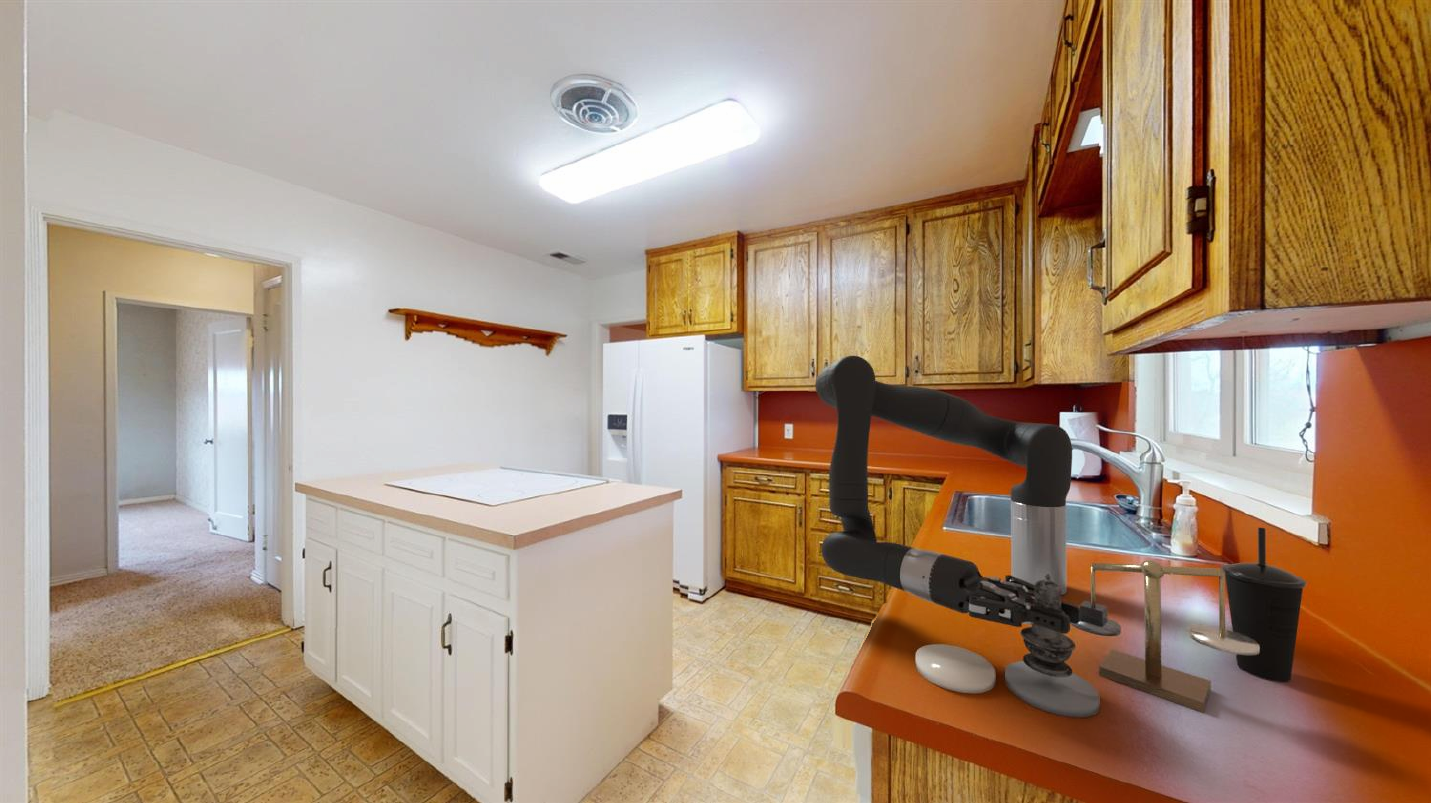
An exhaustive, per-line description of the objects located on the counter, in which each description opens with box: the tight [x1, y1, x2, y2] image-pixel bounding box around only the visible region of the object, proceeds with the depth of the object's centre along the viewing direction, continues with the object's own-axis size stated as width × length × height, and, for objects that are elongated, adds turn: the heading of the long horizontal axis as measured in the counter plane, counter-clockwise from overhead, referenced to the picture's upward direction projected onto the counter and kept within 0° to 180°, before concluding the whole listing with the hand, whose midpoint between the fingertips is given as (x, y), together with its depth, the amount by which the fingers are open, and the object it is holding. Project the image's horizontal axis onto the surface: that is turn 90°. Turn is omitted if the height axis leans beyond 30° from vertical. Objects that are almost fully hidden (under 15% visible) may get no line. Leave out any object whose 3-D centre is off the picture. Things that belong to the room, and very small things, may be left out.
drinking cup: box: [1221, 527, 1307, 683], centre depth 65 cm, size 8×8×20 cm
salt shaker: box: [1020, 574, 1076, 677], centre depth 61 cm, size 6×6×12 cm
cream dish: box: [914, 643, 996, 694], centre depth 66 cm, size 10×10×1 cm
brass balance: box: [1070, 559, 1260, 713], centre depth 63 cm, size 7×19×17 cm, turn 38°
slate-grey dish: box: [1004, 660, 1101, 718], centre depth 61 cm, size 10×10×1 cm
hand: (1073, 620), depth 59 cm, fingers closed on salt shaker, 3 cm apart
